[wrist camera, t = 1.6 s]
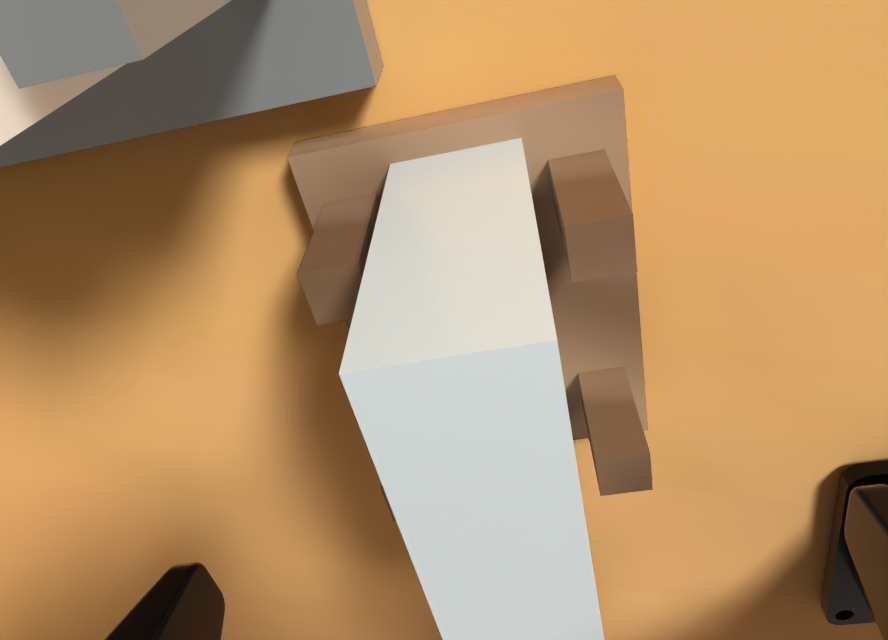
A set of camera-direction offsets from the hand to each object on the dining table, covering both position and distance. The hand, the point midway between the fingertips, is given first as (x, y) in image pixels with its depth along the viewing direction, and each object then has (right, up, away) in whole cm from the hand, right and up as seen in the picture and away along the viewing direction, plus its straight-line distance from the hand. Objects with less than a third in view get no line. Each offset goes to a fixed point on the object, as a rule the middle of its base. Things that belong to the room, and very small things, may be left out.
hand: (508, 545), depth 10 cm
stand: (0, +4, +5) cm, 7 cm away
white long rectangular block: (0, +3, +5) cm, 6 cm away
